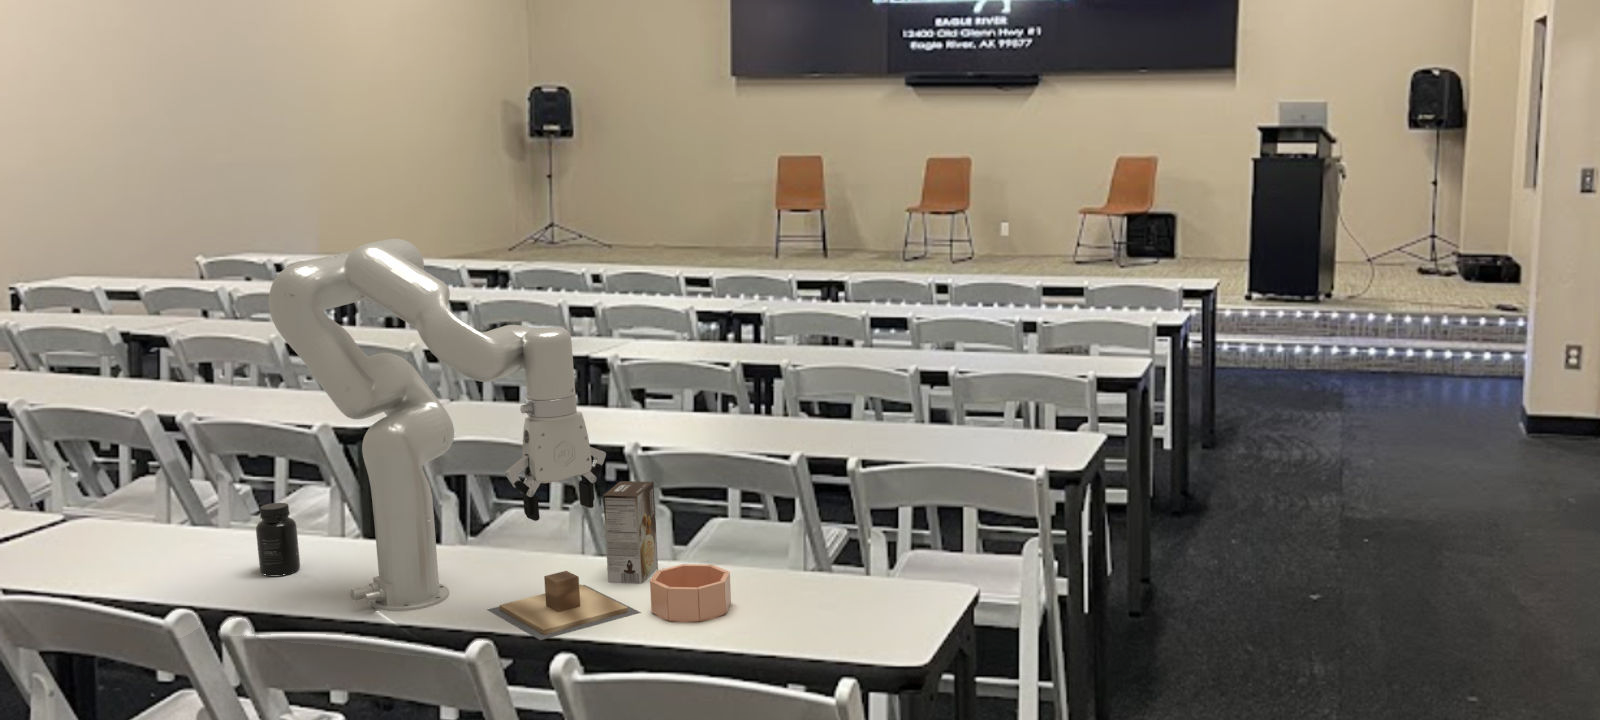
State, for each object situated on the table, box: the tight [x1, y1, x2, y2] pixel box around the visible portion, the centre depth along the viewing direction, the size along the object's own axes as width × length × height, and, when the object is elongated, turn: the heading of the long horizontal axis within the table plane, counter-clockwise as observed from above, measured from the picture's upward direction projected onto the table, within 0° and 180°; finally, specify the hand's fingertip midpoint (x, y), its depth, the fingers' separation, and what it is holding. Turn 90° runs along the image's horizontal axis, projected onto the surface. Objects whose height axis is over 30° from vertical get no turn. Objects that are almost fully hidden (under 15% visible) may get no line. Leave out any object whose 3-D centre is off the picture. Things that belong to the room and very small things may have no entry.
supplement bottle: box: [255, 502, 301, 576], centre depth 271 cm, size 7×7×12 cm
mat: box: [486, 584, 642, 641], centre depth 246 cm, size 18×18×1 cm
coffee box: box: [602, 480, 659, 585], centre depth 261 cm, size 9×6×16 cm
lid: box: [498, 570, 628, 635], centre depth 245 cm, size 15×15×6 cm
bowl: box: [649, 563, 732, 623], centre depth 245 cm, size 12×12×6 cm
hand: (560, 512), depth 243 cm, fingers open, 9 cm apart
